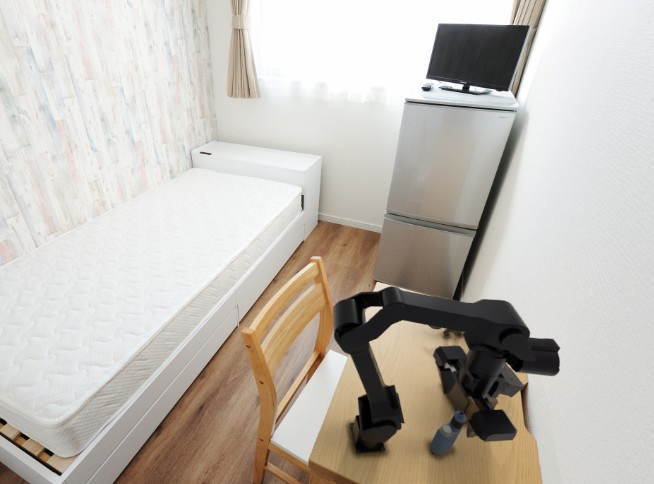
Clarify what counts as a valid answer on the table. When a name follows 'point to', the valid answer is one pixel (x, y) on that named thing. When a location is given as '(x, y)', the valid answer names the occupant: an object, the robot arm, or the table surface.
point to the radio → (466, 402)
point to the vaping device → (448, 434)
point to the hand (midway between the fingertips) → (457, 414)
